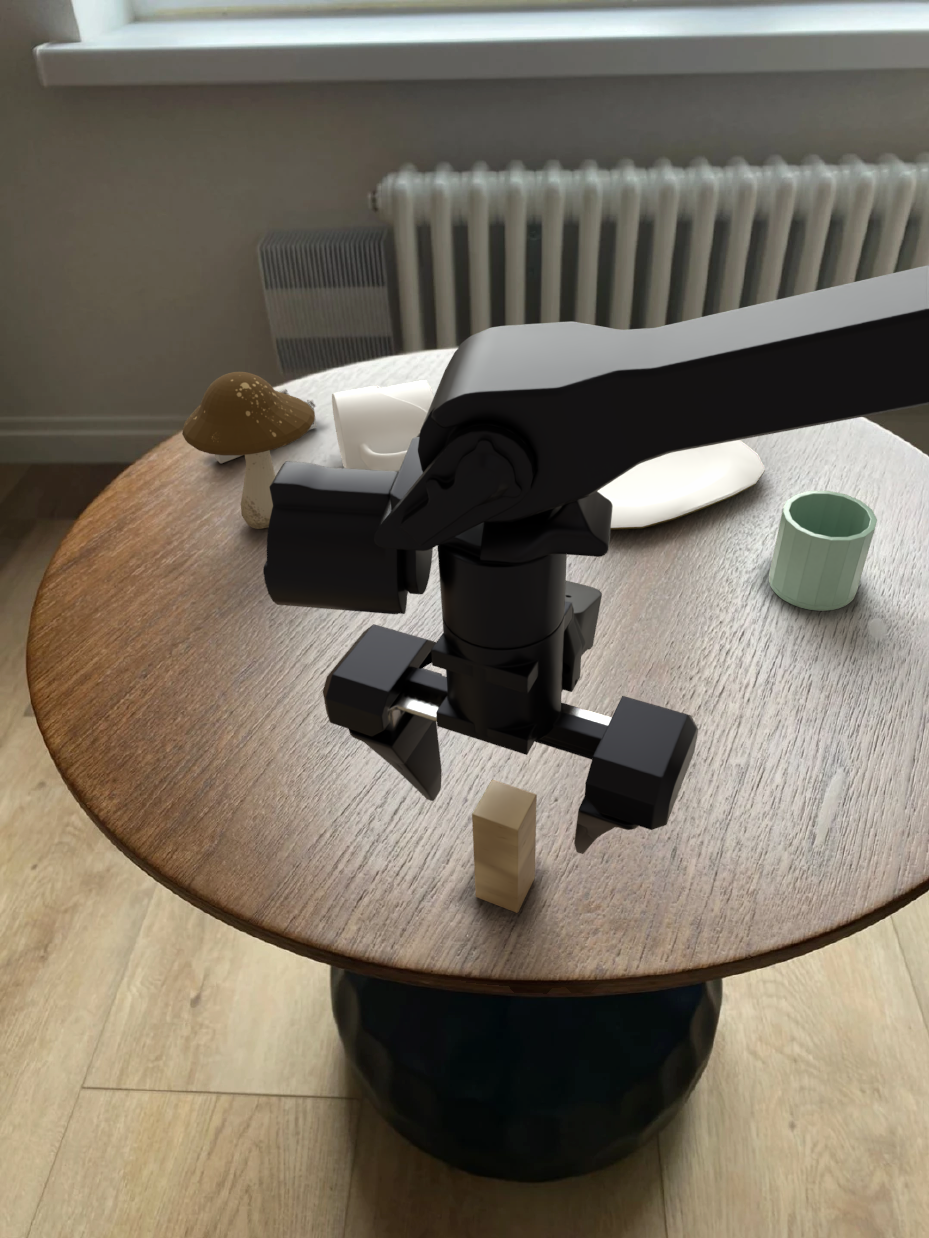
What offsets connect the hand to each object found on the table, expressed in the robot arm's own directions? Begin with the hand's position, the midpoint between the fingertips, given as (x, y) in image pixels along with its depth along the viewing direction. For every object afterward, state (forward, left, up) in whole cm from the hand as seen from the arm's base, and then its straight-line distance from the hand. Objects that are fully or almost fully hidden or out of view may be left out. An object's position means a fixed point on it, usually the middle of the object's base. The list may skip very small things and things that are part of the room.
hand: (506, 819), depth 55 cm
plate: (+8, -49, -7) cm, 51 cm away
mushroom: (+36, -27, -7) cm, 46 cm away
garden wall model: (+45, -40, -7) cm, 60 cm away
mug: (+30, -40, -7) cm, 51 cm away
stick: (0, 0, -7) cm, 7 cm away
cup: (-12, -37, -7) cm, 40 cm away
